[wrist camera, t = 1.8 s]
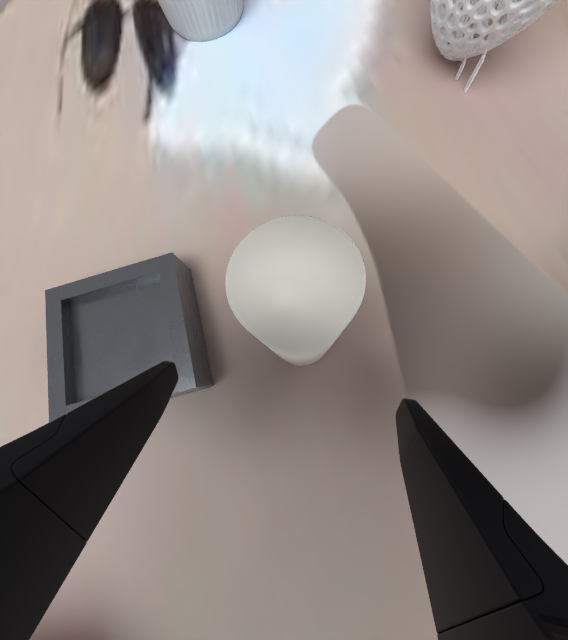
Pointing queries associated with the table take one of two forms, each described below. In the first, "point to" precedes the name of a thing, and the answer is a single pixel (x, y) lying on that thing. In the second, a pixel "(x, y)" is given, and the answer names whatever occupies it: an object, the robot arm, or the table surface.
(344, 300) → the off-white cylinder
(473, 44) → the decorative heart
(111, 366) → the gray square base
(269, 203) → the table surface
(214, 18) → the ramekin
